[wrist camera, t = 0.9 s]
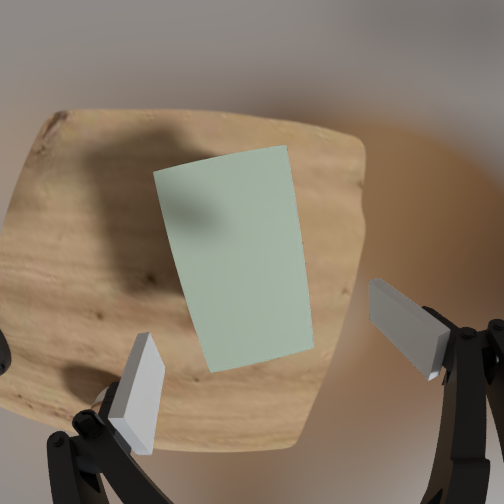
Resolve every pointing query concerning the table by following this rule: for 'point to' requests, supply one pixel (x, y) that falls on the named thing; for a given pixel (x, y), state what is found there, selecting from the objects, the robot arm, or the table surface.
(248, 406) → the table surface
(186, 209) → the lid
